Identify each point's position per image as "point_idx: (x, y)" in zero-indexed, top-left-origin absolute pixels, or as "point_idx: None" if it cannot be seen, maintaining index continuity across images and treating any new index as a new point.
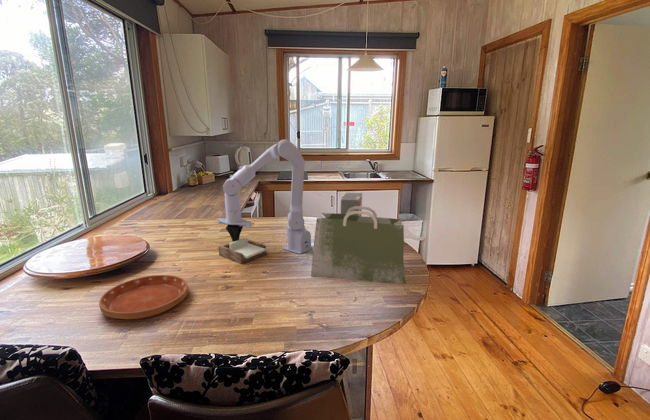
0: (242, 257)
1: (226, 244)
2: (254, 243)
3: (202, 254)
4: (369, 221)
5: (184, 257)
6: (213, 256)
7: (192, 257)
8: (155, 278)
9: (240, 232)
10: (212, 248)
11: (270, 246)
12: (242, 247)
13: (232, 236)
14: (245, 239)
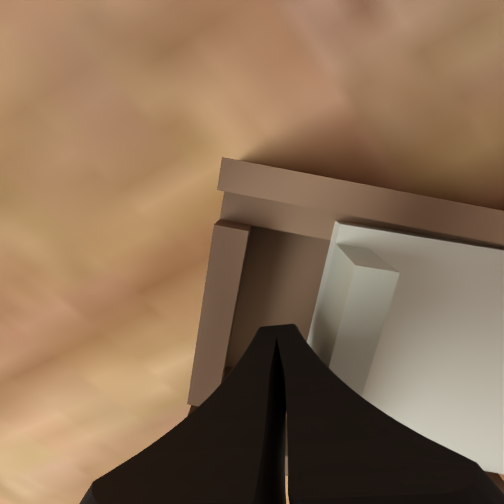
0: (492, 475)
1: (193, 375)
2: (474, 238)
3: (91, 420)
4: None
5: (46, 486)
6: (182, 416)
7: (84, 471)
8: None
9: (351, 394)
10: (47, 317)
11: (500, 9)
12: (379, 348)
13: (283, 473)
14: (385, 300)
